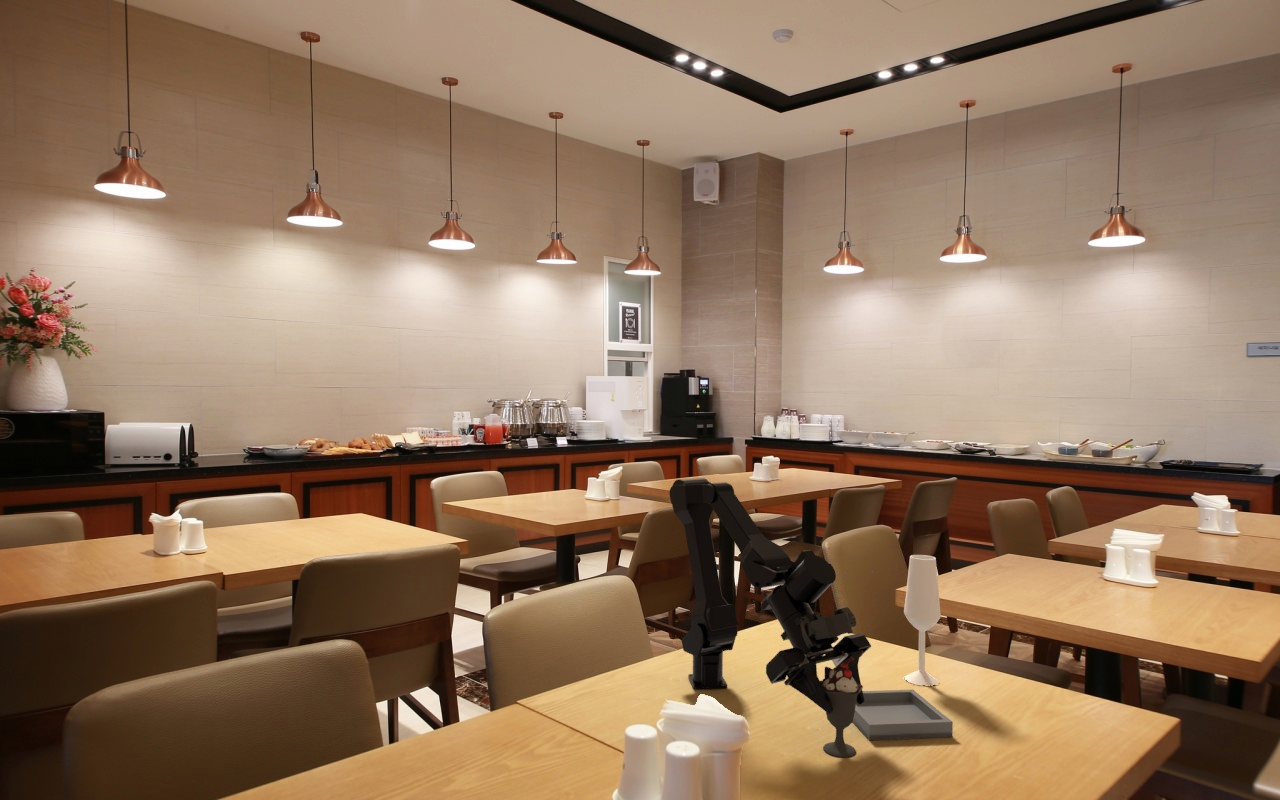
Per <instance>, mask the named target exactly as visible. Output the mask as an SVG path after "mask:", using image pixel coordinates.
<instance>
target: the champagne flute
mask: <svg viewBox="0 0 1280 800" xmlns="http://www.w3.org/2000/svg"><path fill="white" fill-rule="evenodd" d="M936 559H937V558H936V557H935V556H932V555H926V554H911V555H910V556H909V563H908V573H907V581H906V591H905V600H904V608H903V614H904V616H905V617H906V619H907V621H908V622H909V623H910V624H911V626H913V628H914V629H916V630H917V631H918V670H915V671H913V672H911V673H909V674H907V675H905V676H904V677H905V680H907V681H908V682H911V683H914V684H917V685H928V686H929V685H934V684H935V685H936V684H937V683H939V682H940V680H939V679H937V677H934V676H933V675H931V674H930V673H929V672H927V671H926V631H929V630H930V629H931V628H932V627H934V626H935V625H936V624H938V622H939V620H940V618H941V616H942V614H941V603H940V593H939V592H940V590H939V580H938V569H937V567H938V566H937V560H936ZM905 680H904V681H905ZM938 680H939V681H938ZM908 682H907V683H908ZM917 685H916V686H917Z"/></svg>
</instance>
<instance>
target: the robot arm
mask: <svg viewBox="0 0 1280 800" xmlns="http://www.w3.org/2000/svg"><path fill="white" fill-rule="evenodd" d="M669 498H670V501H671V502H670V503H671V506H672V509H673V510H672V511H673V513H674V515H675V516H676V517H677V518H678V520H679V521H680V522H681V523H682V524H683V527H684V532H685V539H686V544H687V550H688V557H689V564H690V569H691V576H692V581H693V588H694V594H695V603H694V606H693V609H692V610H691V614H690V624H691V625H690V626H691V627H690V629H689V630H688V631H687V632H686V634H685V635H684V636H683V637H682V639H681V645H682V651H684V652H685V653H687V654H689V655H691V656H692V673H690V674H688V676H687V677H688V679H689V682H690V684H691V686H692V688H693V689H695V690H696V689H722V688H725V689H726V688H728V683H727V682H726V680H725V678H724V676H723V675H724V673H723V669H724V668H723V667H724V666H723V665H724V664H723V660H724V658H723V657H724V652H726V651H732V650H733V648H734V645H735V641H736V637H738V631H739V630H738V627H739V622H738V619H737V614H736V606H735V604H733V603H732V604H731V603H730V604H729V603H728V602H727V601H726V599H725V598H724V597H723V593H722V589H721V588H722V587H721V584H720V577H719V571H718V570H719V569H718V566H717V558H716V554H715V549H714V542H713V536H712V535H713V534H712V530H711V524H710V520H711V517H712V514H713V512H714V513H715V514H716V516H717V518H718V519H719V520H720V522H721V524H722V525H723V527H724V529H725V530H726V531H727V533H728V534H729V536H730V538H731V539H732V541H733V542H734V544H735V545H736V547H737V548H738V550H739V552H740V554H741V555H740V556H741V557H740V564H741V568H742V570H743V572H744V573H745V576H746V578H747V580H748V582H749V583H750V584H751V586H752V587H754V588H758V589H763V588H769V587H770V588H771V587H774V588H773V589H772V591H770V592H765V593H764V594H763V599H762V601H761V610H762V611H765V610H766V611H767V610H771V609H772V612H773V613H774V616H775V617H776V619H777V621H778V622H779V625H780V626H781V628H782V630H783V632H782V633H781V634H780V637H781V639H782V641H788V640H789V642H790V645H791V646H792V647H791V648H786V649H783V650H782V649H781V650H779V651H778V652H777V654H775V655H774V656H773V657H772V658H771V659H770V660H769V662H768V663H767V664H766V666H765V674H766V675H767V679H768V680H769V682H770V684H771V685H772V684H777V683H780V682H781V683H782V682H783V683H784V685H785V686H790V687H792V688H793V689H794V690H796V691H797V692H799V693H800V694H802V695H803V696H805V697H807V698H808V699H809V700H810V701H812V702H813V703H814V704H815V705H816V706H818V707H819V708H820V709H822V710H823V711H824V712H825V713H826V712H827V713H828V714H830V713H832V712H833V711H834V709H833V707H832V704H831V702H830V700H829V698H828V696H827V694H826V692H825V690H824V688H823V686H822V684H821V682H820V681H821V680H820V678H819V677H818V676H819V675H818V673H817V672H818V671H817V664H821V663H825V662H829V661H832V663H833V665H834V666H835V667H839V666H840V667H841V664H845V663H846V661H847V660H848V659H849V658H850V656H851V657H853V658H854V660H852V661H850V660H851V659H850V660H848V661H847V663H848V662H849V661H850V662H849V664H848V670H850V671H851V672H852V677H853V678H854V679H855V681H856V683H857V684H860V685H862V682H861V678H860V673H859V661H860V658H861V657H862V656H863V654H865V653H866V652H868V650H869V649H871V647H872V645H871V643H870V642H869V640H868V638H867V636H866V635H865V634H862V633H859V632H858V633H854V632H853V628H854V627H856V626H857V620H856V616H855V615H854V613H853V612H852V611H851V609H850V608H849V606H845V607H841V608H839V609H835V610H834V614H833V615H830V616H826V617H824V616H823V614H822V613H821V612H815V613H814V611H813V610H812V608H811V606H810V604H813V603H815V602H816V601H817V600H818V599H819V598H820V597H821V596H822V595H823V594H824V593H825V592H826V591H827V590H828V588H830V587H831V585H833V583H835V581H836V577H837V575H836V569H834V567H833V564H831V563H829V562H828V561H827V560H826V559H825V558H823V557H822V556H820V555H817V554H815V553H814V551H813V550H812V549H808V550H807V549H806V550H802V551H801V552H800V553H799V555H798V556H797V558H796V559H795V560H792V559H791V558H790V556H789V555H788V554H787V553H786V552H785V551H784V550H783V549H782V548H781V547H780V546H779V545H778V544H777V543H776V542H774V541H772V540H770V539H768V538H767V537H766V536H765V535H764V534H763V533H762V531H761V530H760V529H759V528H758V526H757V525H756V523H755V521H754V520H753V519H752V517H751V516H750V514H749V512H748V511H747V510H746V508H745V507H744V506H743V503H741V501H740V500H739V498H738V497H737V495H736V494H735V490H734V487H733V486H732V484H731V483H728V482H725V481H724V482H723V481H722V482H711V481H709V480H708V479H706V478H704V477H701V478H699V477H697V478H696V477H695V478H684V479H680V478H679V479H676V480H675V481H674V482H673V483H672V486H671V487H670V489H669ZM845 634H848V635H845ZM841 635H844V636H843V638H841V640H839V637H840V636H841ZM837 641H838V642H837ZM836 642H837V643H836ZM835 643H836V644H835ZM833 644H835V645H834V646H833ZM847 663H846V664H847ZM835 667H834V668H835ZM863 691H864V690H863V689H862V690H861V692H860V693H859V694H858V695H857V700H856V702H857V703H858V704H862V703H864V701H865V700H864V696H863Z"/></svg>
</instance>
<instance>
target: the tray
mask: <svg viewBox="0 0 1280 800" xmlns="http://www.w3.org/2000/svg"><path fill="white" fill-rule="evenodd" d="M862 691H863V696H864V700H865V701H864V703H862V704H858V703H857V702H856V707H855V714H854V718H853V722H852V723H853V724H854V726H856V728H857V729H858V730H859V731H860V732H861V733H862V734H863V735H864V736H865V738H866V739H867V740H868V739H869V741H888V740H891V739H892V740H914V739H915V740H916V739H937V738H939V739H940V738H941V739H943V738H953V728H954V727H953V726H954V724H953V723H954V722H953V721H952V720H951V719H950V718H949V717H947V716H946V715H945V714H943V713H942V712H941V711H940V710H939V709H937V707H935V706H934V705H933V704H932V703H930V702H929V701H928V700H927V699H926V698H924V697H923V696H922V695H921V694H919V693H918V692H916V691H915V689H893V690H892V689H890V690H884V689H883V690H862Z"/></svg>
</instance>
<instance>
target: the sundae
mask: <svg viewBox="0 0 1280 800" xmlns="http://www.w3.org/2000/svg"><path fill="white" fill-rule="evenodd" d="M850 659H851V660H850ZM848 660H850V661H852V660H854V658H853V657H851V656H850V658H849V659H848ZM848 660H847V661H848ZM847 661H846V663H847ZM850 661H849V662H850ZM849 662H848V663H847V664H846V663H845V664H841V667H840V666H839V667H833V668H831V667H828V666H825V667H824V678H823V679H822V680H820V682H821V684H822V686H823V688H824V690H825V692H826V694H827V696H828V698H829V700H830V702H831V704H832V707H833V709H834V711H833V712H832V713H830V714H828V713H827V712H826V711H825V715H826V718H827V720H828V722H829V723H830V725H832V726H833V728H835V740H834V741H832V742H827V743H825V744H824V745H823V746H822V749H823V751H824V752H825V754H828V755H830V756H833V757H837V758H851V757H852V756H855V755H856V753H857V750H856V749H855V747H853V746H852V745H850V744H849V743H846V742H845V739H844V730H845V729H846V728H848V727H849V726H850V725H851V724H852V723H853V718H854V714H855V707H856V700H857V695H858V694H859V693H860V692H861V690H862V691H863V688H864V686H863V685H862V684H861V685H860V684H857V683H856V681H855V679H854V678H853V677H852V672H851V671H850V670H848V664H849Z"/></svg>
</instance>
